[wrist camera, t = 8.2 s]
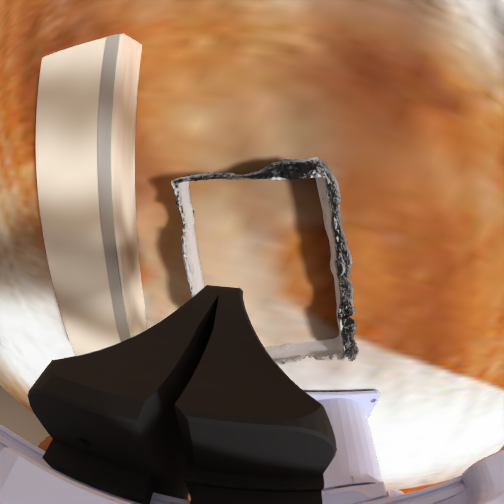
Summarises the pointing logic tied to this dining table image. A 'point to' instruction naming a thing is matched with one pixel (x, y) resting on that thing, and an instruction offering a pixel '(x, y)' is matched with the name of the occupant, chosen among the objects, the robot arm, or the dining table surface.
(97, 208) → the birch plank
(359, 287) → the dining table surface
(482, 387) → the dining table surface
